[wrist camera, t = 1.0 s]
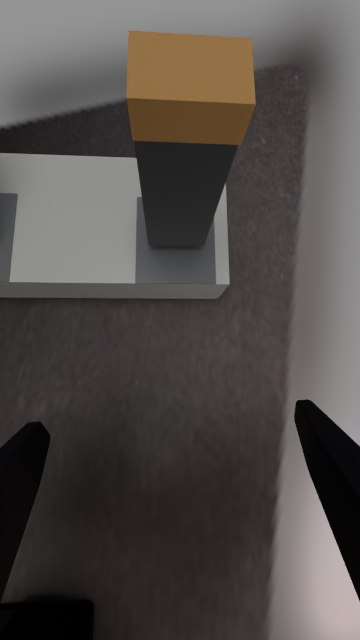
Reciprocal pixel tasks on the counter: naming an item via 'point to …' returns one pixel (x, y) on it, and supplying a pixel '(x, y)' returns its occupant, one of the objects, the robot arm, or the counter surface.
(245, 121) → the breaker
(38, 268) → the grey mounting base
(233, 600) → the counter surface
